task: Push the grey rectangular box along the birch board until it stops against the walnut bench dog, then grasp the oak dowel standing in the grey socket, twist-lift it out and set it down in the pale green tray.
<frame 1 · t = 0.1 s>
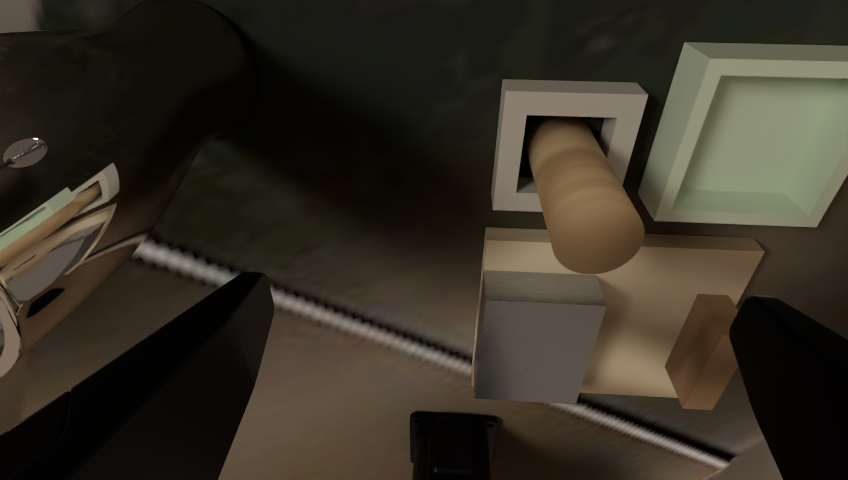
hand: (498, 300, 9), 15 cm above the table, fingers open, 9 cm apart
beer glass: (193, 67, 22), on the table
dowel: (574, 183, 19), in the socket
tray: (739, 127, 21), on the table
socket: (557, 142, 22), on the table
grey rectangular box: (529, 324, 28), point 1 cm above the table, touching board
board: (593, 313, 29), on the table
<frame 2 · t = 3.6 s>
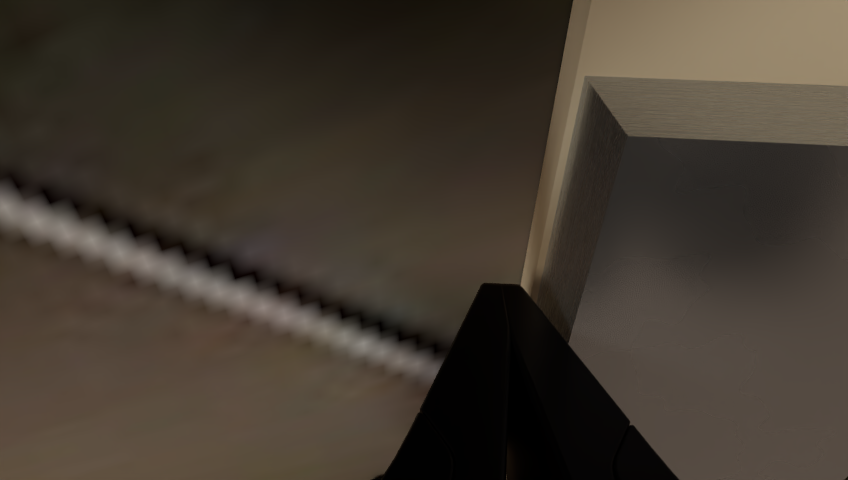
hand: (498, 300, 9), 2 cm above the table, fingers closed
grey rectangular box: (690, 279, 10), point 1 cm above the table, touching board, gripper
board: (845, 255, 10), on the table
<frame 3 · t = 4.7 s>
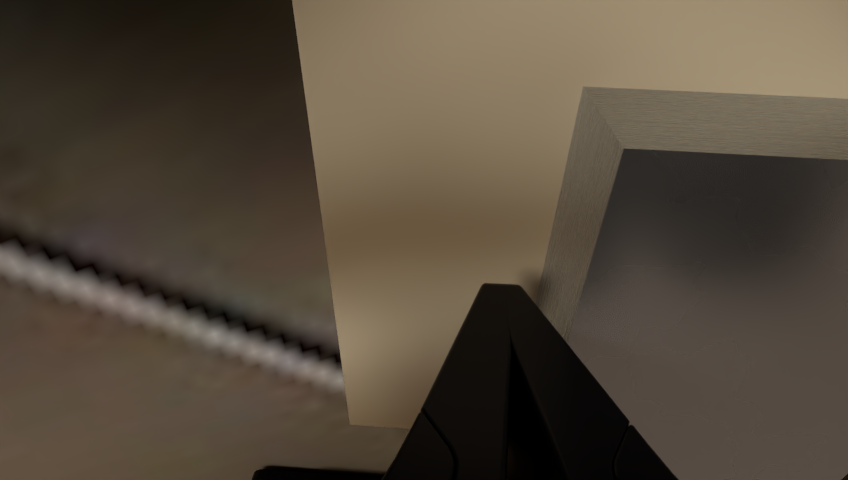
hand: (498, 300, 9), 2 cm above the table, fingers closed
grey rectangular box: (686, 286, 10), point 1 cm above the table, touching board, gripper
board: (644, 242, 11), on the table
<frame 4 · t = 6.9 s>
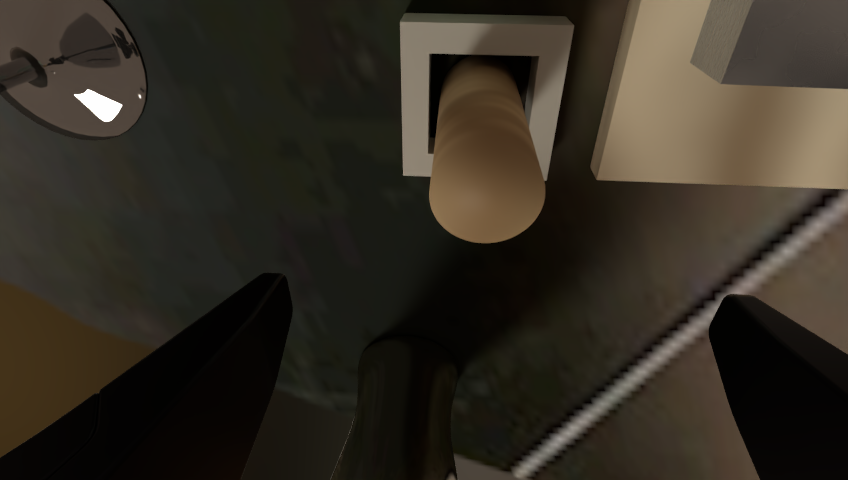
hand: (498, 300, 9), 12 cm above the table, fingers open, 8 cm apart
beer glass: (408, 366, 29), on the table
dowel: (481, 134, 16), in the socket
wine glass: (60, 56, 19), on the table
socket: (478, 94, 19), on the table
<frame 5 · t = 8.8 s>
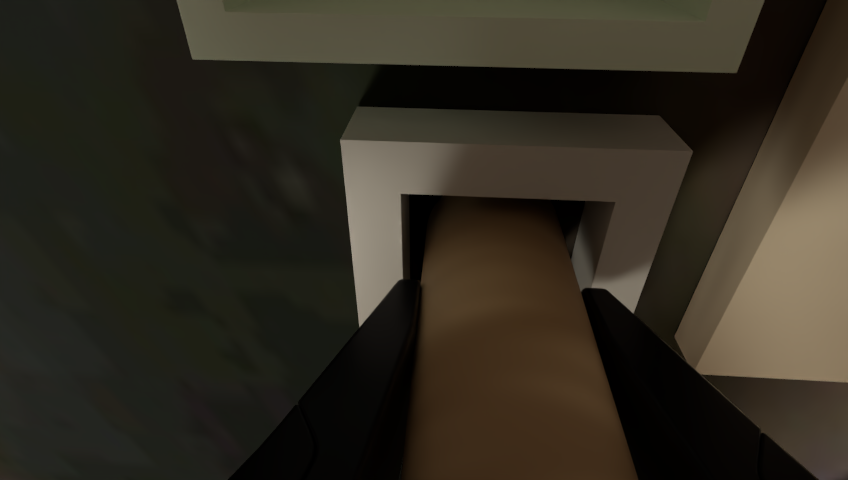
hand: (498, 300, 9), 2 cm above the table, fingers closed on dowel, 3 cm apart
dowel: (505, 377, 8), in the socket, touching gripper
socket: (492, 234, 11), on the table
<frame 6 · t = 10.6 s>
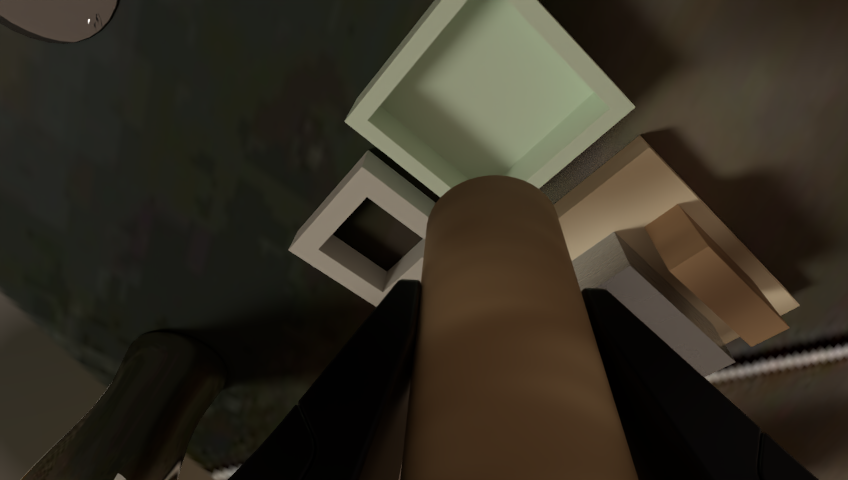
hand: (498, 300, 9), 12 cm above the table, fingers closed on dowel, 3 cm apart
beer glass: (181, 361, 30), on the table
dowel: (505, 376, 8), point 14 cm above the table, touching gripper
tray: (483, 91, 19), on the table
socket: (380, 228, 23), on the table
grey rectangular box: (611, 313, 23), point 1 cm above the table, touching board
board: (592, 301, 25), on the table
when the fingers open (4 cm above the table, at t = 12.3 s): dowel drops 1 cm, resting on tray.
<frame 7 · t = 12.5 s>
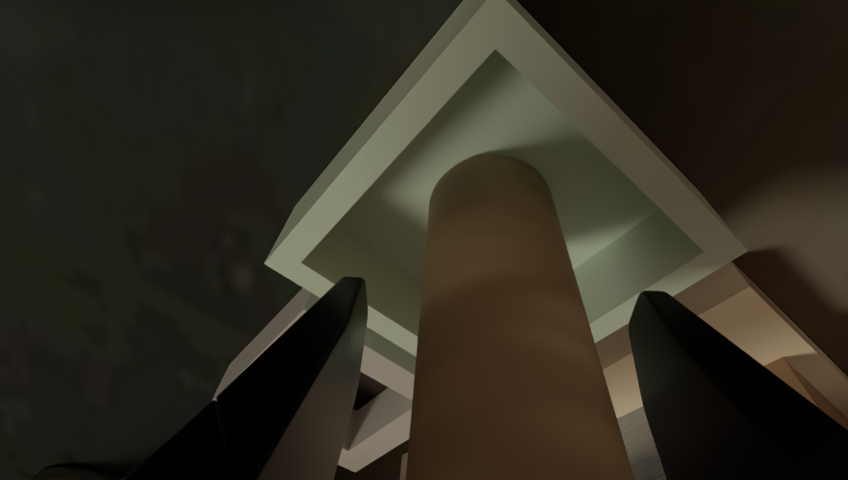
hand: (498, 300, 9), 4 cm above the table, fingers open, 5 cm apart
dowel: (501, 335, 8), in the tray
tray: (488, 197, 12), on the table
socket: (343, 363, 16), on the table
grey rectangular box: (668, 475, 17), point 1 cm above the table, touching board
board: (638, 448, 18), on the table
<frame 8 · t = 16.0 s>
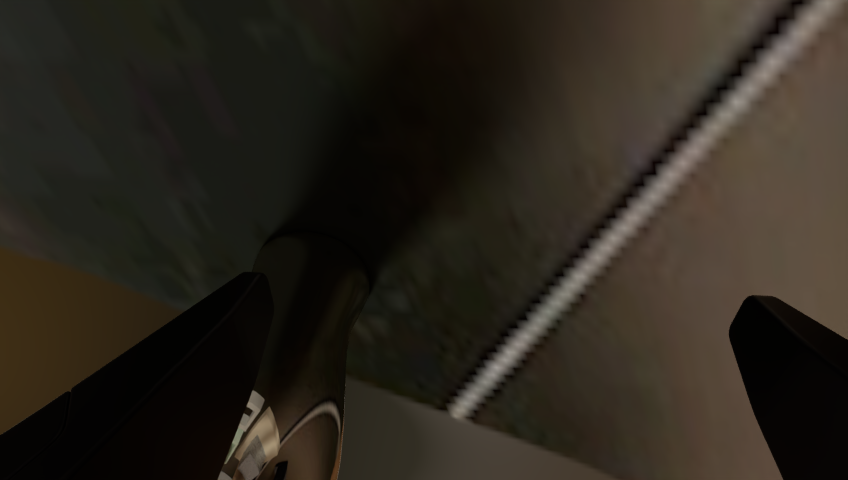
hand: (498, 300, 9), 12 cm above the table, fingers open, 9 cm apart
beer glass: (314, 275, 25), on the table
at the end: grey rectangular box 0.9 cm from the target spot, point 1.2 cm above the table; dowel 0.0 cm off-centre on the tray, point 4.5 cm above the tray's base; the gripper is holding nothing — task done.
